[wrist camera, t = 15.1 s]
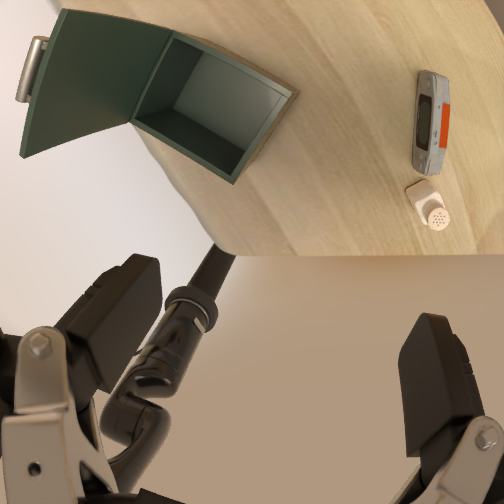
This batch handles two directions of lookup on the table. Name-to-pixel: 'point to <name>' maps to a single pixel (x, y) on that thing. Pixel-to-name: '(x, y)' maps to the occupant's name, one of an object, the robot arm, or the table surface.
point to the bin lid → (85, 76)
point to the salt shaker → (428, 205)
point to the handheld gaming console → (431, 123)
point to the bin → (211, 104)
